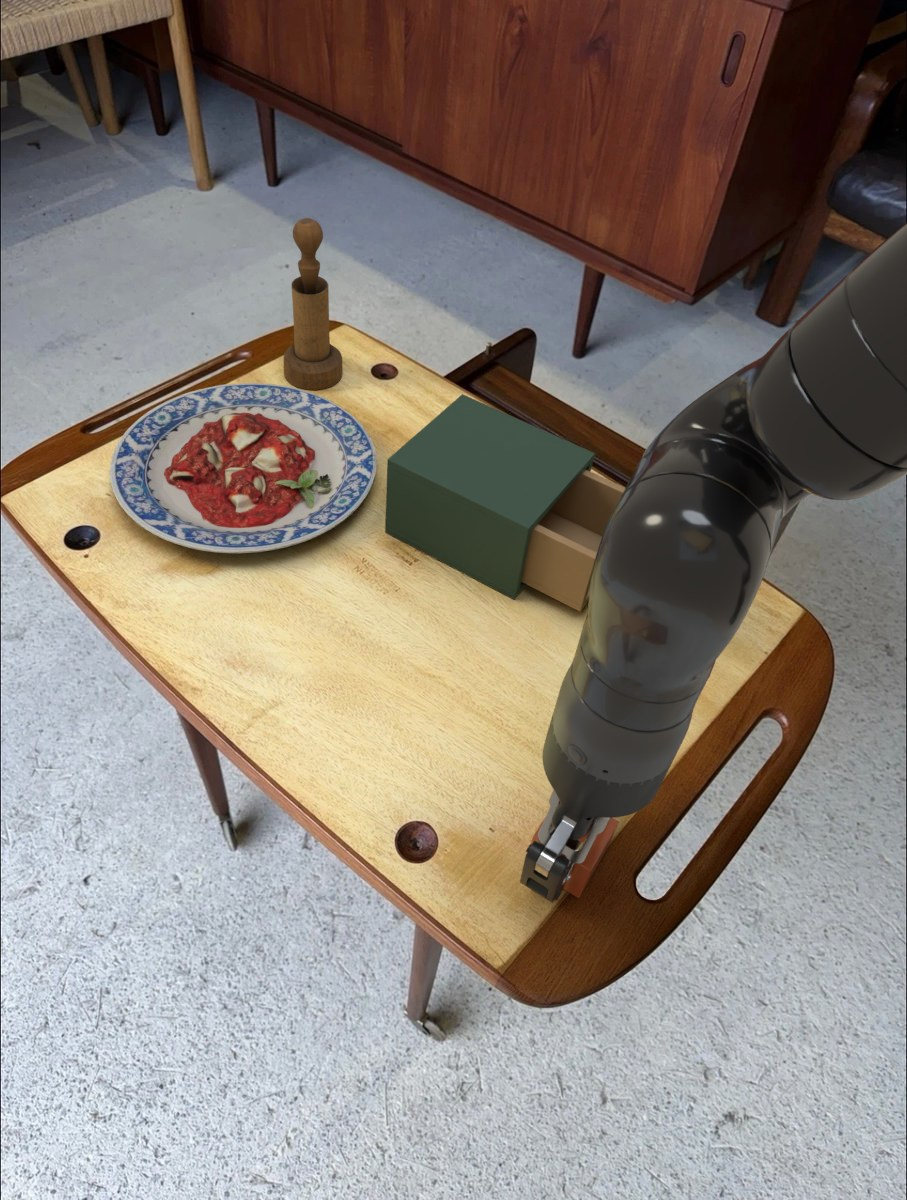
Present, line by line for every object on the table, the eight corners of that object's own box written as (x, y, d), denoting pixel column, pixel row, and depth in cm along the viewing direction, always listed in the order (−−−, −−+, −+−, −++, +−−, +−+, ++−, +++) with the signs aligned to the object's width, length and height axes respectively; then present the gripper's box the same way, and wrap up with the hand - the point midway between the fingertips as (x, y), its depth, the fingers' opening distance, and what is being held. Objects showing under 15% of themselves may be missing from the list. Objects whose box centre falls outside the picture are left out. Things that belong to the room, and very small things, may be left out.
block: (606, 850, 66) (619, 821, 63) (578, 898, 64) (591, 871, 60) (553, 818, 68) (563, 788, 64) (523, 864, 65) (533, 835, 62)
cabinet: (577, 524, 90) (595, 453, 83) (514, 600, 82) (528, 528, 75) (454, 466, 94) (462, 393, 87) (384, 532, 87) (387, 459, 80)
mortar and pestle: (304, 397, 100) (296, 242, 86) (273, 368, 103) (261, 214, 90) (353, 378, 103) (353, 226, 90) (322, 351, 106) (317, 200, 93)
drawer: (703, 582, 84) (727, 525, 79) (654, 659, 78) (676, 603, 72) (531, 500, 90) (542, 442, 85) (471, 565, 83) (479, 507, 78)
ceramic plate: (57, 481, 88) (50, 457, 85) (249, 371, 102) (247, 348, 100) (246, 612, 79) (242, 589, 76) (427, 470, 93) (428, 447, 91)
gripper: (621, 852, 47) (565, 966, 60) (720, 675, 56) (653, 808, 68) (500, 780, 50) (470, 904, 62) (612, 620, 58) (566, 758, 71)
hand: (566, 853), depth 65 cm, fingers open, 6 cm apart
